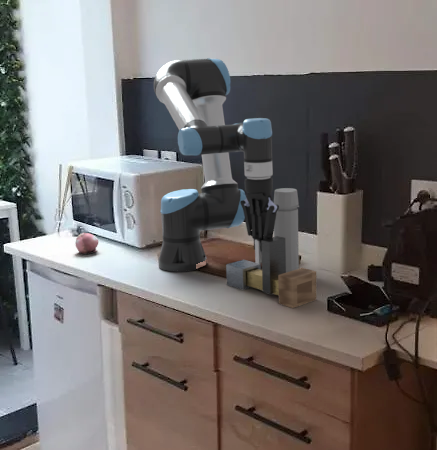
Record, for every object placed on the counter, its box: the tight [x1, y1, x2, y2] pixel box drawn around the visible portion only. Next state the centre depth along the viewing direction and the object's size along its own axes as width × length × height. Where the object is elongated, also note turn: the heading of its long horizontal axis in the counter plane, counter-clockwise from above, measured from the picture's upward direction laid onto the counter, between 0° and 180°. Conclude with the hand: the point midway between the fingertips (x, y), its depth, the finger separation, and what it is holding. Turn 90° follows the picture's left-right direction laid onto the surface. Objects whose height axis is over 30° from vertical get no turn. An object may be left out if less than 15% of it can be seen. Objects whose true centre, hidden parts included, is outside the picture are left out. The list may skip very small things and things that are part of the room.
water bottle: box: [273, 187, 300, 273], centre depth 212 cm, size 9×8×25 cm
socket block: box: [278, 267, 318, 309], centre depth 188 cm, size 5×9×8 cm, turn 130°
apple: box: [74, 232, 99, 255], centre depth 244 cm, size 8×8×7 cm
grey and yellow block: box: [245, 236, 286, 296], centre depth 197 cm, size 21×6×14 cm, turn 40°
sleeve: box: [225, 259, 262, 291], centre depth 204 cm, size 7×7×6 cm
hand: (260, 262), depth 197 cm, fingers closed
